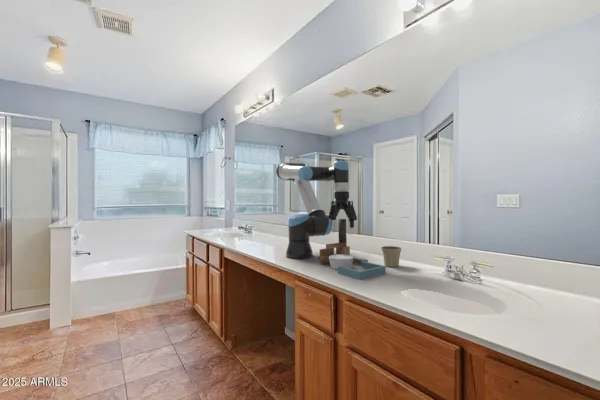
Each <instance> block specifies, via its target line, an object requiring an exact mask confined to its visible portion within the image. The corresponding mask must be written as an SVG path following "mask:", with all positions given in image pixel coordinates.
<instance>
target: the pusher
mask: <svg viewBox="0 0 600 400" xmlns="http://www.w3.org/2000/svg"><path fill="white" fill-rule="evenodd" d="M337 222H338V223H337V224H338V225H337V232H338V242H335V243H326V244H325V248H322V249H321V248H320V249H319V264H320V265H324V264H325V265H326V264H330V260H329V256H331V255H337V254H341V255H350V256H351V254H350V253H351V250H350V249H351V248H350V246H348V245H347V243H348V242H347V219H346V218H338V221H337Z"/></svg>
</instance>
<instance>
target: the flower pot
mask: <svg viewBox="0 0 600 400" xmlns="http://www.w3.org/2000/svg"><path fill="white" fill-rule="evenodd" d="M380 249H381V252H382V254H383V262H384V266H386V267H388V268H389V267H390V268H398V267H399V266H400V265H399V264H400V257H401V256H400V255H401V252H402V250H403V247H401V246H396V245H395V246H393V245H391V246H390V245H387V246H386V245H384V246H381V247H380Z"/></svg>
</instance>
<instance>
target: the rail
mask: <svg viewBox="0 0 600 400" xmlns="http://www.w3.org/2000/svg"><path fill="white" fill-rule="evenodd" d="M336 255H338V254H336ZM351 256H352V257H353V261H352V265H355V266H358V267H362V261H364V262H369V259H366V258H363V257H362V258H361V257H359V256H358V257H357V256H353V255H351Z"/></svg>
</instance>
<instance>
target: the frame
mask: <svg viewBox="0 0 600 400" xmlns="http://www.w3.org/2000/svg"><path fill="white" fill-rule="evenodd" d="M386 267H387V266H385V265H382V264H377V263H372V262H369V261H368V262H364V261H362V266H361V269H364V270H356V269H352V268H346V267H342V266H338V270H337V274H341V275H343V276H347V277H349V278H352V279H357V280H363V279H368V278H371V277H372V278H373V277H376V276H379V275H385V274H387V270H386Z"/></svg>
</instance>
